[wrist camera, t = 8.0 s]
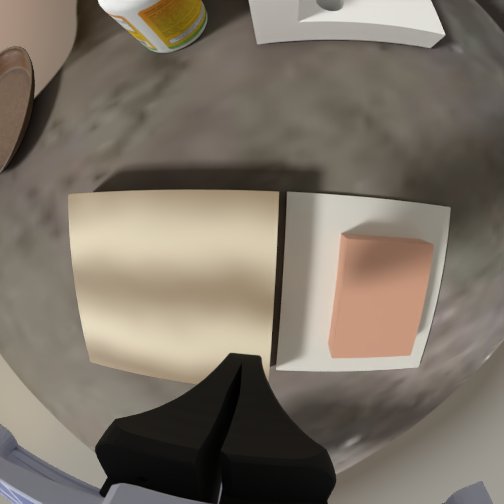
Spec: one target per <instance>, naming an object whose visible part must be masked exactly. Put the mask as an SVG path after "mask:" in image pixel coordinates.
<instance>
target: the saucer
mask: <svg viewBox="0 0 504 504" xmlns="http://www.w3.org/2000/svg"><path fill="white" fill-rule="evenodd" d="M34 90H35V80H34V70H33V66H32V62H31V59H30V57H29V55H28V53H27V51H26V50H25V49H24V48H21V47H17V46H14V47H10V48H7V49H5V50H3V51H2V52H0V174H1V173H2V171H3V170H4V169H5V168H6V167H7V165H8V164H9V162H10V161H11V159H12V158H13V156H14V155H15V153H16V151H17V149H18V147H19V145H20V143H21V141H22V139H23V137H24V135H25V132H26V129H27V127H28V124H29V120H30V117H31V112H32V108H33V101H34Z"/></svg>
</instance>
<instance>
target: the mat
mask: <svg viewBox="0 0 504 504" xmlns="http://www.w3.org/2000/svg"><path fill="white" fill-rule="evenodd" d="M450 210H451V207H445V206H438V205H431V204H423V203H415V202H407V201H398V200H389V199H379V198H369V197H358V196H346V195H334V194H319V193H303V192H287V207H286V229H285V248H284V266H283V283H282V298H281V312H280V326H279V339H278V351H277V363H276V370H289V371H368V370H387V369H401V368H413V367H419V364H420V361H421V358H422V355H423V351H424V348H425V345H426V341H427V338H428V334H429V331H430V327H431V323H432V319H433V315H434V311H435V307H436V303H437V298H438V293H439V288H440V283H441V278H442V273H443V267H444V261H445V254H446V247H447V239H448V231H449V221H450ZM341 234H353V235H369V236H384V237H398V238H412V239H422V240H424V241H427V242H429V243H431V244H434V249H433V256H432V263H431V269H430V275H429V281H428V286H427V291H426V296H425V301H424V306H423V310H422V315H421V319H420V323H419V327H418V331H417V335H416V338H415V342H414V346H413V349H412V352H411V355H409V356H394V357H372V358H332V357H331V354H330V350H329V346H328V339H329V333H330V326H331V319H332V312H333V304H334V296H335V288H336V279H337V270H338V260H339V249H340V237H341Z"/></svg>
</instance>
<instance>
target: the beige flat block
mask: <svg viewBox="0 0 504 504" xmlns="http://www.w3.org/2000/svg"><path fill="white" fill-rule="evenodd" d="M68 209H69V231H70V244H71V255H72V265H73V273H74V281H75V288H76V294H77V301H78V307H79V312H80V317H81V323H82V327H83V332H84V337H85V341H86V346H87V350H88V354H89V358H90V362H93V363H96V364H100V365H104V366H108V367H112V368H116V369H120V370H124V371H128V372H133V373H137V374H142V375H147V376H152V377H157V378H163V379H168V380H174V381H180V382H186V383H193V384H199V383H200V382H201V381H202V380H204V379H205V378H206V377H207V376H208V375H209V374H210V373H211V372H212V371H213V370H214V369H215V368H216V367H217V366H218V365H219V364H220V363H221V362H222V361H223V360H224V359H225V358H226V356H227V355H228V354H229V353H240V354H250V355H260V356H261V357H262V365H263V369H264V372H265V375H266V378H267V380H268V381H269V368H270V355H271V340H272V325H273V309H274V293H275V275H276V255H277V234H278V211H279V191H260V190H219V189H170V190H129V191H106V192H89V193H76V194H68Z"/></svg>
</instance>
